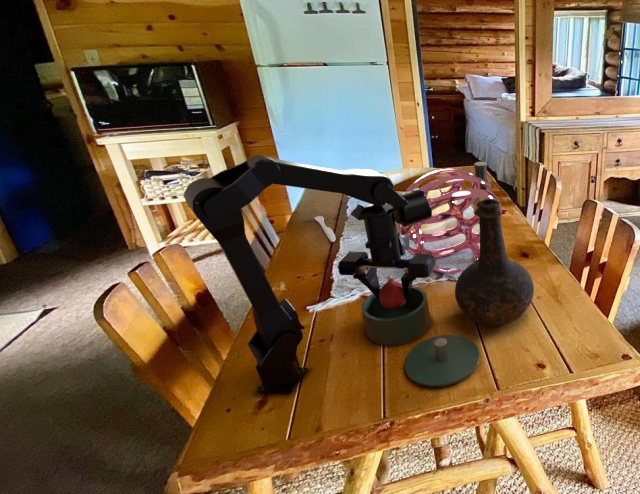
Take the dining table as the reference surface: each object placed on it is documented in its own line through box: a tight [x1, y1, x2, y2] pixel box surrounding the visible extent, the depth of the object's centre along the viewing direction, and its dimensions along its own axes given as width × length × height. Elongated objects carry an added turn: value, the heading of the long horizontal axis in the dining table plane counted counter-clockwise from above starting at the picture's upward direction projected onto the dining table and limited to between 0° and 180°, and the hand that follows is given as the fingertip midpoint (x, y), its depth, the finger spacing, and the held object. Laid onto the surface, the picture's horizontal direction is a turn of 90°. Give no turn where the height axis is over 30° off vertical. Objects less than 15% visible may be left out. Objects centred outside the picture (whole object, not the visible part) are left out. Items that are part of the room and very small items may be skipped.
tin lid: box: [404, 334, 481, 388], centre depth 87 cm, size 15×15×5 cm
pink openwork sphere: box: [396, 168, 503, 275], centre depth 118 cm, size 28×28×27 cm
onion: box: [379, 277, 406, 310], centre depth 95 cm, size 6×6×8 cm
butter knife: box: [313, 215, 337, 243], centre depth 144 cm, size 1×24×3 cm
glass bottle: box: [454, 199, 535, 327], centre depth 96 cm, size 18×18×28 cm
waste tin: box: [361, 285, 431, 347], centre depth 97 cm, size 14×14×6 cm
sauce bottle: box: [472, 161, 492, 216], centre depth 147 cm, size 7×6×20 cm
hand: (393, 298), depth 95 cm, fingers closed on onion, 6 cm apart
